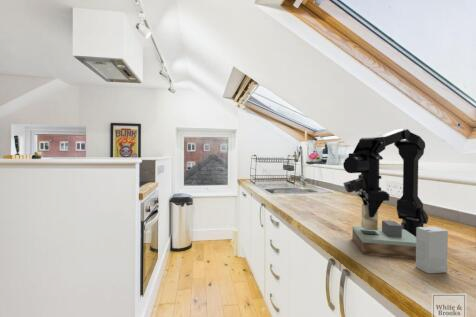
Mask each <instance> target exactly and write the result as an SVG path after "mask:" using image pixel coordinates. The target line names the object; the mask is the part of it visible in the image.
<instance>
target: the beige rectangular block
mask: <svg viewBox="0 0 476 317" xmlns="http://www.w3.org/2000/svg"><path fill="white" fill-rule="evenodd" d="M378 212H379V209H378V210H377V212H376V214H375V215H374V217H370V216H369V210H368V205H363V204H361V227H363V228H364V229H365V230H378V228H379V227H378V226H379V225H378V224H379V223H378V221H379V220H378V219H379V214H378Z"/></svg>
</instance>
